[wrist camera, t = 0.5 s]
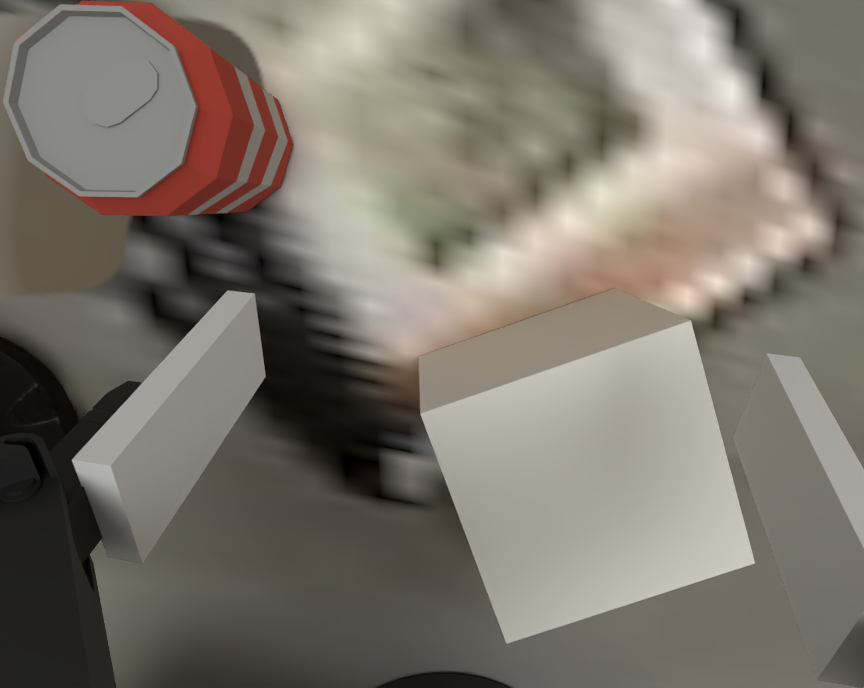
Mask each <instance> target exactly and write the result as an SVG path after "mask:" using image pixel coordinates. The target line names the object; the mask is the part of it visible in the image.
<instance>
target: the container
mask: <svg viewBox="0 0 864 688" xmlns="http://www.w3.org/2000/svg"><path fill="white" fill-rule="evenodd" d="M76 424H77V416H76V413H75V411H74V409H73V407H72V405H71V403H70V401H69V399H68V397H67V396H66V394H65V392H64V390H63V388H62V386H61V385H60V383H59V382H58V380H57V379H56V378H55V376H54V375H53V373H52V372H51V371H50V370H49V369H48V368H47V367H46V366H44V365H43V364H42V363H41V362H40V361H39V360H38V359H36V358H35V357H34V356H32V355H31V354H29V353H28V352H27V351H25V350H24V349H23V348H21V347H20V346H18V345H16V344H14V343H12V342H10V341H9V340H7V339H5V338H2V337H0V437H1V436H4V435H9V434H15V433H32V434H35V435H37V436H39V437H41V438H42V439H43V440H44V442H45V444H46V446H47V448H48V451H49V452H50V451H51V450H52V449H53V448H54V447H55V446H56V445H57V444H58V443H59V442H60V441H61V440H62V439H63V438H64V437H65V436H66V435H67V434H68V433H69V431H70V430H71V429H72V428H73V427H74V426H75V425H76Z"/></svg>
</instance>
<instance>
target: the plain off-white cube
mask: <svg viewBox="0 0 864 688" xmlns="http://www.w3.org/2000/svg"><path fill="white" fill-rule="evenodd" d="M419 387H420V414H421V417H422V420H423V422H424V425H425V428H426V430H427V433H428V436H429V438H430V441H431V444H432V446H433V449H434V452H435V454H436V457H437V460H438V462H439V465H440V468H441V470H442V473H443V476H444V478H445V481H446V484H447V486H448V489H449V492H450V494H451V497H452V500H453V502H454V505H455V508H456V510H457V513H458V516H459V518H460V521H461V524H462V526H463V529H464V532H465V534H466V537H467V540H468V542H469V545H470V548H471V550H472V553H473V556H474V558H475V561H476V564H477V566H478V569H479V572H480V574H481V577H482V580H483V582H484V585H485V588H486V590H487V593H488V596H489V598H490V601H491V604H492V606H493V609H494V612H495V614H496V617H497V620H498V622H499V625H500V628H501V630H502V633H503V636H504V638H505V641H506V644H508V643H511V642H514V641H517V640H520V639H523V638H526V637H529V636H532V635H535V634H538V633H541V632H545V631H548V630H551V629H554V628H557V627H560V626H563V625H566V624H569V623H572V622H575V621H578V620H582V619H585V618H588V617H591V616H594V615H597V614H600V613H603V612H606V611H609V610H612V609H615V608H619V607H622V606H625V605H628V604H631V603H634V602H637V601H640V600H643V599H646V598H649V597H652V596H656V595H659V594H662V593H665V592H668V591H671V590H674V589H677V588H680V587H683V586H686V585H689V584H692V583H696V582H699V581H702V580H705V579H708V578H711V577H714V576H717V575H720V574H723V573H726V572H729V571H733V570H736V569H739V568H742V567H745V566H748V565H751V564H754V563H755V562H754V558H753V554H752V550H751V546H750V543H749V539H748V535H747V531H746V528H745V524H744V520H743V516H742V512H741V509H740V505H739V501H738V497H737V493H736V490H735V486H734V482H733V478H732V475H731V471H730V467H729V463H728V459H727V456H726V452H725V448H724V444H723V441H722V437H721V433H720V429H719V425H718V422H717V418H716V414H715V410H714V407H713V403H712V399H711V395H710V391H709V388H708V384H707V380H706V376H705V372H704V369H703V365H702V361H701V357H700V354H699V350H698V346H697V342H696V338H695V335H694V331H693V327H692V323H691V320H688V319H686V318H684V317H681V316H679V315H677V314H674V313H672V312H669V311H667V310H665V309H662V308H660V307H658V306H655V305H653V304H651V303H648V302H646V301H643V300H641V299H639V298H636V297H634V296H632V295H629V294H627V293H625V292H622V291H620V290H617V289H615V288H614V289H611V290H608V291H605V292H602V293H599V294H596V295H594V296H591V297H588V298H585V299H582V300H579V301H576V302H573V303H571V304H568V305H565V306H562V307H559V308H556V309H553V310H551V311H548V312H545V313H542V314H539V315H536V316H533V317H531V318H528V319H525V320H522V321H519V322H516V323H513V324H510V325H508V326H505V327H502V328H499V329H496V330H493V331H490V332H488V333H485V334H482V335H479V336H476V337H473V338H470V339H468V340H465V341H462V342H459V343H456V344H453V345H450V346H447V347H445V348H442V349H439V350H436V351H433V352H430V353H427V354H425V355H422V356H419Z"/></svg>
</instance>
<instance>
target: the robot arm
mask: <svg viewBox="0 0 864 688" xmlns="http://www.w3.org/2000/svg"><path fill="white" fill-rule="evenodd" d="M265 377H266V375H265V368H264V360H263V353H262V345H261V338H260V330H259V323H258V315H257V307H256V300H255V294H253V293H245V292H236V291H227V292H226V293H225V294H224V295H223V296H222V297H221V298H220V299H219V300H218V301H217V303H216V304H215V305H214V306H213V307H212V308H211V309H210V310H209V311H208V312H207V313H206V315H205V316H204V317H203V318H202V319H201V320H200V321H199V322H198V323H197V324H196V325H195V326H194V328H193V329H192V330H191V331H190V332H189V333H188V334H187V335H186V336H185V337H184V338H183V339H182V341H181V342H180V343H179V344H178V345H177V346H176V347H175V348H174V349H173V350H172V351H171V353H170V354H169V355H168V356H167V357H166V358H165V359H164V360H163V361H162V362H161V363H160V364H159V366H158V367H157V368H156V369H155V370H154V371H153V372H152V373H151V374H150V375H149V376H148V377H147V379H146V380H145V381H144V382H143V383H139V382H132V381H127V382H125V383H124V384H122V385H120V386H118V387H117V388H115V389H113V390H112V391H110V392H108V393H107V394H106V395H105V396H104V397H103V398H102V399H101V400H100V401H99V402H98V403H97V404H96V405H95V406H94V407H93V410H92V411H89V412H88V413H87V414H86V415H85V416H84V417H83V418H82V419H81V422H80V423H77V424H76V425H75V426H74V427H73V428H72V429H71V430H70V431H69V433H68V434H67V435H66V436H65V437H64V438H63V439H62V440H61V441H60V442H59V443H58V444H57V445H56V446H55V447H54V448H53V449H52V450H51V451H50V452H49V451H48V448H47V446H46V444H45V442H44V440H43V439H42V438H41V437H39V436H37V435H35V434H32V433H15V434H9V435H4V436H1V437H0V688H116V684H115V679H114V673H113V668H112V662H111V657H110V651H109V646H108V641H107V635H106V630H105V624H104V619H103V613H102V608H101V602H100V597H99V592H98V586H97V581H96V575H95V570H94V564H93V562H92V559H91V557H90V553H91V552H92V551H93V549H94V548H95V547H96V545H97V544H98V543H99V541H100V540H101V539H102V542H103V545H104V547H105V550H106V553H107V555H108V558H114V559H119V560H125V561H131V562H137V563H143V562H144V561H145V559H146V558H147V556H148V555H149V553H150V552H151V550H152V549H153V547H154V546H155V544H156V543H157V541H158V540H159V538H160V537H161V535H162V534H163V532H164V530H165V529H166V527H167V526H168V524H169V523H170V521H171V520H172V518H173V517H174V515H175V514H176V512H177V511H178V509H179V508H180V506H181V505H182V503H183V502H184V500H185V498H186V497H187V495H188V494H189V492H190V491H191V489H192V488H193V486H194V485H195V483H196V482H197V480H198V479H199V477H200V476H201V474H202V473H203V471H204V470H205V468H206V467H207V465H208V463H209V462H210V460H211V459H212V457H213V456H214V454H215V453H216V451H217V450H218V448H219V447H220V445H221V444H222V442H223V441H224V439H225V438H226V436H227V435H228V433H229V432H230V430H231V428H232V427H233V425H234V424H235V422H236V421H237V419H238V418H239V416H240V415H241V413H242V412H243V410H244V409H245V407H246V406H247V404H248V403H249V401H250V400H251V398H252V397H253V395H254V393H255V392H256V390H257V389H258V387H259V386H260V384H261V383H262V381H263V380H264V378H265ZM733 440H734V443H735V445H736V448H737V451H738V454H739V457H740V460H741V463H742V466H743V469H744V471H745V474H746V477H747V480H748V483H749V486H750V489H751V492H752V494H753V497H754V500H755V503H756V506H757V509H758V512H759V515H760V517H761V520H762V523H763V526H764V529H765V532H766V535H767V538H768V540H769V543H770V546H771V549H772V552H773V555H774V558H775V561H776V563H777V566H778V569H779V572H780V575H781V578H782V581H783V584H784V586H785V589H786V592H787V595H788V598H789V601H790V604H791V607H792V609H793V612H794V615H795V618H796V621H797V624H798V627H799V630H800V632H801V635H802V638H803V641H804V644H805V647H806V650H807V653H808V656H809V658H810V661H811V664H812V667H813V670H814V673H815V676H816V679H817V680H820V681H826V682H832V683H838V684H843V685H849V686H855V687H861V688H862V687H863V686H864V469H863V467H862V466H861V464H860V462H859V460H858V459H857V457H856V455H855V453H854V452H853V450H852V448H851V446H850V445H849V443H848V441H847V439H846V438H845V436H844V434H843V432H842V431H841V429H840V427H839V425H838V424H837V422H836V420H835V418H834V417H833V415H832V413H831V411H830V410H829V408H828V406H827V404H826V403H825V401H824V399H823V397H822V396H821V394H820V392H819V390H818V389H817V387H816V385H815V383H814V381H813V380H812V378H811V376H810V374H809V373H808V371H807V369H806V367H805V366H804V364H803V362H802V360H801V359H800V357H792V356H783V355H775V354H766V357H765V359H764V362H763V364H762V367H761V369H760V372H759V374H758V377H757V379H756V382H755V384H754V387H753V389H752V392H751V395H750V397H749V400H748V402H747V405H746V407H745V410H744V412H743V415H742V417H741V420H740V422H739V425H738V427H737V430H736V432H735V435H734V437H733ZM381 688H508V687H506V686H504V685H501V684H499V683H496V682H493V681H490V680H487V679H483V678H479V677H474V676H469V675H461V674H429V675H421V676H416V677H411V678H407V679H403V680H399V681H396V682H393V683H391V684H388V685H386V686H383V687H381Z"/></svg>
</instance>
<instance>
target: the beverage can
mask: <svg viewBox="0 0 864 688" xmlns="http://www.w3.org/2000/svg"><path fill="white" fill-rule="evenodd" d="M3 104H4V106H5V108H6V110H7V113H8V115H9V117H10V120H11V122H12V124H13V127H14V129H15V131H16V134H17V136H18V138H19V140H20V143H21V145H22V148H23V150H24V152H25V155H26V157H27V159H28V161H30V162H31V163H33V164H34V165H35V166H37V167H38V168H39V169H41V170H43V171H44V173H45V175H46V176H47V177H49V178H50V179H51V180H53V181H54V182H56V183H57V184H59V185H60V186H62V187H63V188H65V189H66V190H67V191H69V192H70V193H72V194H73V195H74V196H76V197H77V198H79V199H80V200H81V201H83V202H84V203H86V204H87V205H89V206H90V207H91V208H93V209H94V210H96V211H97V212H99V213H100V214H101V215H139V216H176V215H196V214H216V213H236V212H247V211H249V210H250V209H251V208H253V207H254V206H255V205H257V204H258V203H259V202H261V201H262V200H264V199H265V198H266V197H268V196H269V195H270V194H272V193H273V192H274V191H276V190H277V189H278V188H280V187H281V184H282V181H283V177H284V174H285V170H286V167H287V163H288V160H289V156H290V153H291V149H292V146H293V143H292V140H291V137H290V134H289V131H288V128H287V125H286V122H285V119H284V116H283V113H282V110H281V107H280V104H279V101H278V99H276V98H275V97H274V96H273V95H271V94H270V93H269V92H267V91H266V90H265V89H263V88H262V87H261V86H260V85H258V84H257V83H256V82H254V81H253V80H252V79H250V78H249V77H248V76H247V75H245V74H244V73H243V72H241V71H240V70H239V69H237V68H236V67H235V66H233V65H232V64H231V63H230V62H228V61H227V60H226V59H224V58H223V57H222V56H220V55H219V54H218V53H216V52H215V51H214V50H212V49H211V48H210V47H209V46H207V45H206V44H205V43H203V42H202V41H201V40H199V39H198V38H197V37H195V36H194V35H193V34H192V33H190V32H189V31H188V30H186V29H185V28H184V27H182V26H181V25H180V24H178V23H177V22H176V21H175V20H173V19H172V18H171V17H169V16H168V15H167V14H165V13H164V12H163V11H161V10H160V9H159V8H157V7H156V6H155V5H154V4H152V3H145V2H109V1H81V2H80V3H79V4H77V5H62V4H60V5H59V6H58V7H56V8H55V9H54V10H53V11H51V12H50V13H49V14H48V15H47V16H45V17H44V18H43V19H42V20H40V21H39V22H38V23H37V24H35V25H34V26H33V27H32V28H31V29H29V30H28V31H27V32H26V33H24V34H23V35H22V36H21V37H20V38H18V39H17V40H16V41H15V42H14V47H13V51H12V57H11V62H10V67H9V72H8V77H7V83H6V88H5V93H4V98H3Z"/></svg>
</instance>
